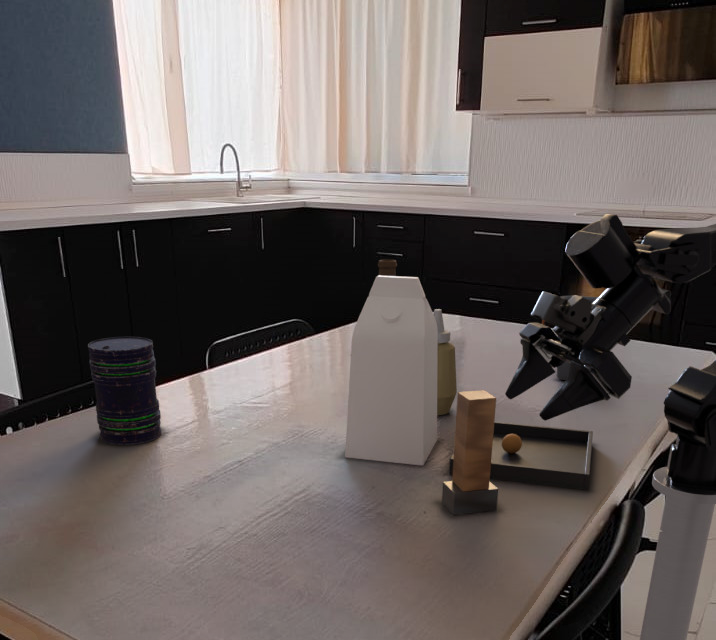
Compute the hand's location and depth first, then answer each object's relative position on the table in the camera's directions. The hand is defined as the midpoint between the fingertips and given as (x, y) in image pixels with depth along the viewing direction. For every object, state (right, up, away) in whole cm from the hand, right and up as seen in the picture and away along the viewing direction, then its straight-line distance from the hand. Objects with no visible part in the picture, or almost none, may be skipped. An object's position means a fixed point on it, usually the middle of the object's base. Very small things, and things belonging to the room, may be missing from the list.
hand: (523, 407), depth 97 cm
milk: (-16, -4, +23) cm, 28 cm away
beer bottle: (-15, +11, +58) cm, 61 cm away
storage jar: (-58, -1, +28) cm, 64 cm away
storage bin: (+25, +15, +68) cm, 74 cm away
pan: (+4, -6, +20) cm, 21 cm away
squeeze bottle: (-7, +4, +41) cm, 42 cm away
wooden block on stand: (-6, -13, +3) cm, 15 cm away
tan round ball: (+2, -3, +20) cm, 20 cm away
